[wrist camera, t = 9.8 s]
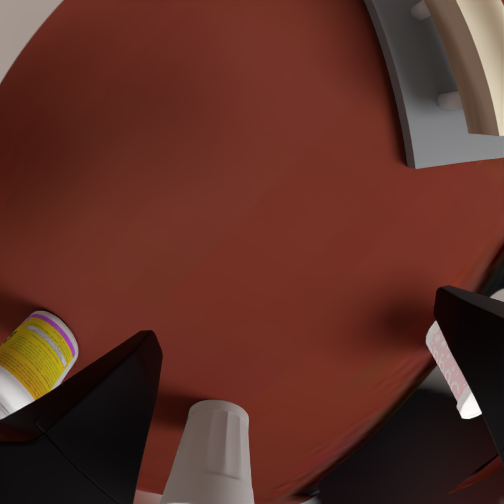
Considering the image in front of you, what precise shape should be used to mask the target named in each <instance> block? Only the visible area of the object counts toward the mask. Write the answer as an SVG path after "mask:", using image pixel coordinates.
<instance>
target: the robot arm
mask: <svg viewBox="0 0 504 504" xmlns="http://www.w3.org/2000/svg"><path fill="white" fill-rule="evenodd" d="M434 317H435V319H436V321H437V323H438V325H439V327H440V330H441V332H442V334H443V336H444V338H445V341H446V343H447V345H448V348H449V350H450V352H451V354H452V356H453V358H454V359H455V361H456V363H457V365H458V367H459V368H460V370H461V372H462V374H463V376H464V378H465V380H466V382H467V384H468V386H469V388H470V390H471V392H472V394H473V396H474V398H475V400H476V402H477V404H478V406H479V408H480V410H481V412H482V414H483V416H484V419H485V421H486V423H487V426H488V428H489V430H490V433H491V435H492V437H493V440H494V442H495V445H496V447H497V450H498V452H499V455H500V458H501V461H502V464H503V466H504V302H502V301H499V300H496V299H492V298H489V297H486V296H483V295H479V294H476V293H473V292H470V291H466V290H463V289H460V288H456V287H453V286H449V285H447V286H443V287H439V288H438V289H437V291H436V298H435V304H434ZM162 358H163V355H162V350H161V347H160V345H159V342H158V340H157V337H156V335H155V333H154V332H153V331H152V330H144V331H140V332H138V333H137V334H135V335H134V336H132V337H131V338H129V339H128V340H126V341H125V342H123V343H122V344H120V345H119V346H117V347H116V348H114V349H113V350H111V351H110V352H108V353H107V354H105V355H104V356H102V357H101V358H99V359H98V360H96V361H95V362H93V363H92V364H90V365H89V366H87V367H86V368H84V369H83V370H81V371H80V372H78V373H77V374H75V375H74V376H72V377H71V378H69V379H68V380H66V381H65V382H63V384H60V385H59V386H57V387H56V388H54V389H53V390H51V391H49V392H48V393H46V394H45V395H43V396H42V397H40V398H38V399H37V400H35V401H33V402H31V403H30V404H28V405H26V406H24V407H23V408H21V409H19V410H17V411H15V412H14V413H12V414H10V415H8V416H6V417H5V418H3V419H1V420H0V504H133V501H134V496H135V491H136V486H137V481H138V477H139V472H140V467H141V462H142V458H143V453H144V449H145V445H146V440H147V436H148V432H149V428H150V423H151V419H152V415H153V411H154V407H155V403H156V399H157V394H158V387H159V379H160V372H161V365H162Z"/></svg>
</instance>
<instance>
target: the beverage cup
mask: <svg viewBox="0 0 504 504" xmlns="http://www.w3.org/2000/svg"><path fill="white" fill-rule="evenodd" d="M426 344H427V346H428V348H429V350H430V351H431V353H432V355H433V357H434V358H435V360H436V362H437V364H438V366H439V367H440V369H441V371H442V373H443V375H444V376H445V378H446V380H447V382H448V384H449V386H450V388H451V390H452V392H453V394H454V396H455V398H456V400H457V402H458V404H457V408H458V410H459V412H460V414H461V416H462V418H465V419H466V418H467V419H470V418H472V417H476V416H478V415H480V414H481V413H482V412H481V410H480V408H479V406H478V404H477V402H476V400H475V398H474V396H473V394H472V392H471V390H470V388H469V386H468V384H467V382H466V380H465V378H464V376H463V374H462V372H461V370H460V368H459V367H458V365H457V363H456V361H455V359H454V358H453V356H452V354H451V352H450V350H449V348H448V345H447V343H446V341H445V338H444V336H443V334H442V332H441V330H440V327H439V325H438V323H437V321H435V322H434V323H433V325H432V326H431V328H430V329H429V331H428V334H427V336H426Z"/></svg>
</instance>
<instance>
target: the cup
mask: <svg viewBox="0 0 504 504" xmlns="http://www.w3.org/2000/svg"><path fill="white" fill-rule="evenodd" d="M248 425H249V418H248V415H247V413H246V412H245V410H243V409H242V408H241V407H239V406H238V405H236V404H233V403H230V402H227V401H222V400H205V401H201V402H198V403H196V404H194V405H193V406H192V407H191V408H190V410H189V414H188V418H187V423H186V426H185V429H184V432H183V435H182V438H181V442H180V445H179V448H178V451H177V454H176V457H175V460H174V463H173V467H172V470H171V473H170V476H169V478H168V481H167V484H166V487H165V490H164V493H163V496H162V499H161V502H160V504H254V498H253V489H252V485H251V471H250V456H249V441H248Z"/></svg>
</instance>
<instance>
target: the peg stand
mask: <svg viewBox="0 0 504 504" xmlns="http://www.w3.org/2000/svg"><path fill="white" fill-rule="evenodd" d="M364 2H365V4H366V7H367V9H368V12H369V14H370V17H371V19H372V22H373V25H374V28H375V31H376V33H377V36H378V39H379V42H380V45H381V49H382V52H383V55H384V58H385V62H386V65H387V69H388V72H389V76H390V80H391V83H392V87H393V91H394V95H395V100H396V104H397V109H398V113H399V118H400V123H401V128H402V134H403V139H404V145H405V152H406V158H407V165H408V167H410V168H414V169H419V168H425V167H432V166H439V165H446V164H453V163H461V162H469V161H477V160H485V159H494V158H504V136H492V135H481V134H468V129H467V124H466V120H465V115H464V111H463V107H462V103H461V99H460V95H459V91H458V88H457V84H456V81H455V78H454V74H453V71H452V68H451V65H450V62H449V59H448V56H447V54H446V51H445V48H444V45H443V43H442V40H441V38H440V35H439V33H438V30H437V28H436V26H435V23H434V21H433V19H432V17H431V14H430V12H429V10H428V8H427V6H426V4H425V2H424V0H364Z"/></svg>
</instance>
